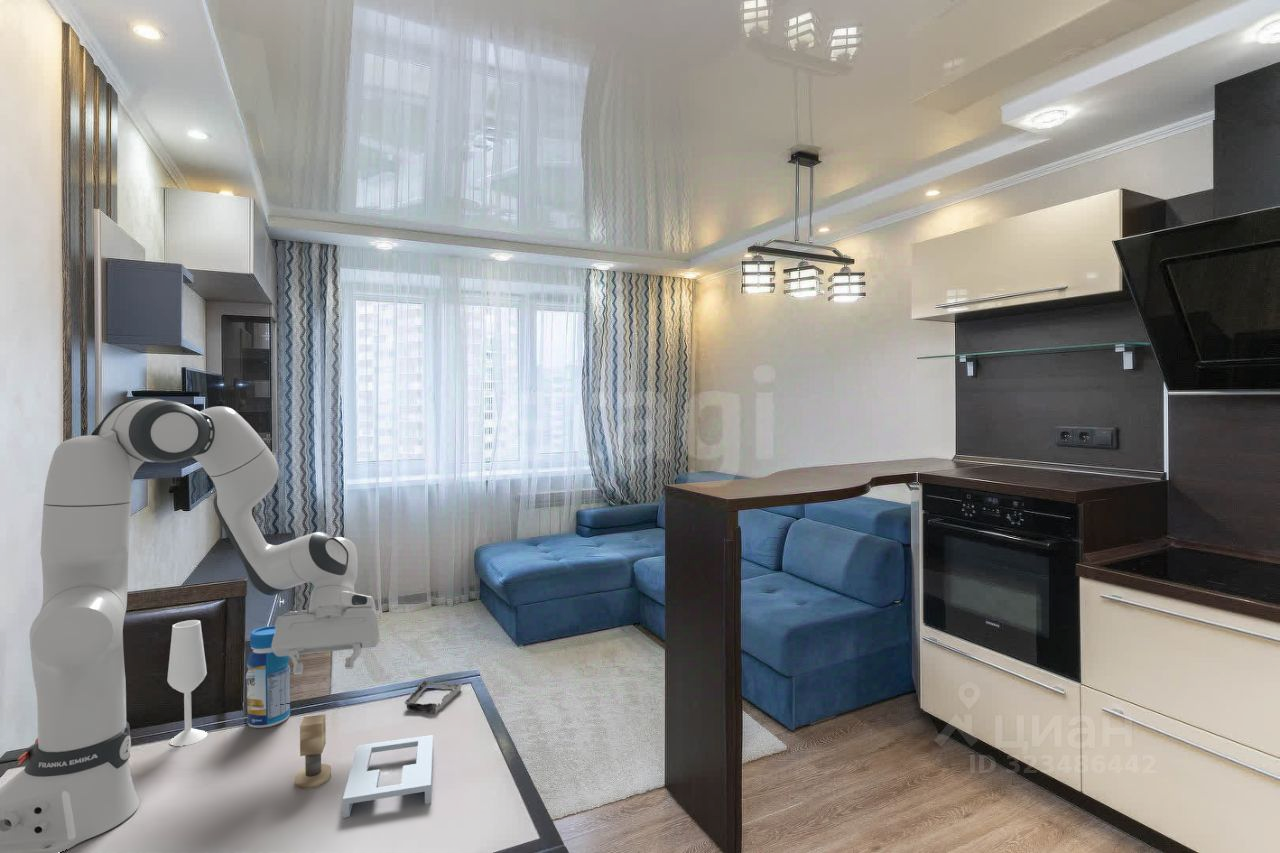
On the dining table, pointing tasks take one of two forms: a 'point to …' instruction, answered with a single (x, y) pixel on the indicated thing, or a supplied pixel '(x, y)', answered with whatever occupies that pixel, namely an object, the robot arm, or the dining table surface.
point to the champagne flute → (187, 673)
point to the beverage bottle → (266, 681)
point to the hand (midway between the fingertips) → (323, 670)
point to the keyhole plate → (366, 782)
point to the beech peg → (312, 753)
